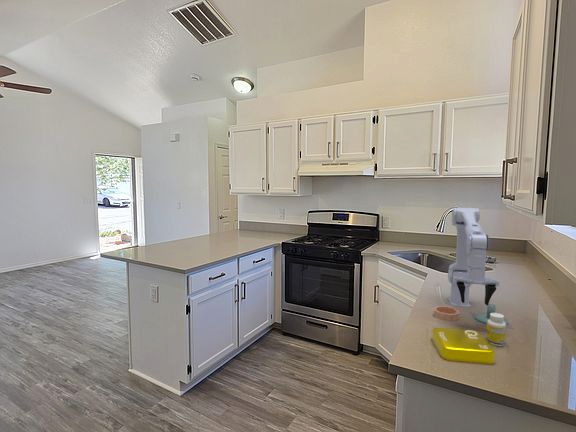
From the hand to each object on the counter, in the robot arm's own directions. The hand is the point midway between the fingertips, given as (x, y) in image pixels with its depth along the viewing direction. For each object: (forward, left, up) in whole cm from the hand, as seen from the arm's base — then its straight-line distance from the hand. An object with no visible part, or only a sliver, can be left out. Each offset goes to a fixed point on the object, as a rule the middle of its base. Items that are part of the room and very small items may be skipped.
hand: (474, 303), depth 118 cm
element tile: (+18, -7, -11) cm, 22 cm away
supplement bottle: (+9, +5, -10) cm, 15 cm away
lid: (-10, +8, -10) cm, 16 cm away
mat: (-10, +8, -10) cm, 16 cm away
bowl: (-9, -8, -10) cm, 16 cm away
